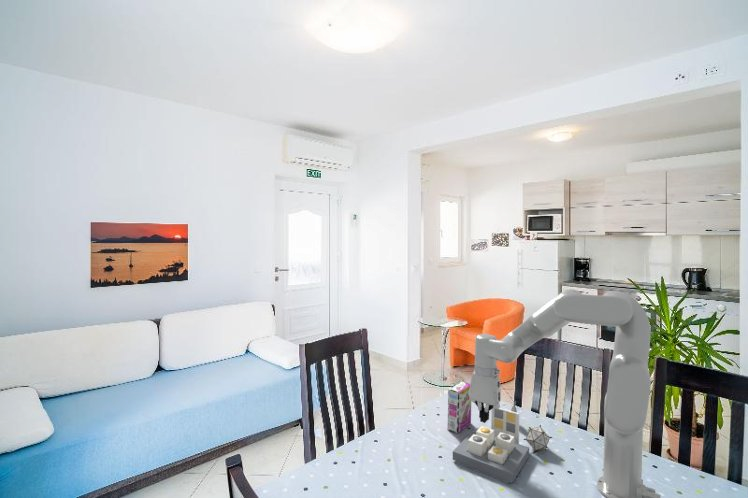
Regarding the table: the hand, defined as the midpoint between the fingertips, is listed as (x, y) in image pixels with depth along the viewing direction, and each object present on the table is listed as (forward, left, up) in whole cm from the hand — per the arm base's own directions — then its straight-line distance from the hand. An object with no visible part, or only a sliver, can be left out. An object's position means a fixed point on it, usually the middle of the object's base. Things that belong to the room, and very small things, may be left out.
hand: (484, 420), depth 135 cm
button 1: (0, 0, -9) cm, 9 cm away
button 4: (-7, +7, -10) cm, 14 cm away
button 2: (0, +7, -9) cm, 11 cm away
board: (-4, +3, -11) cm, 12 cm away
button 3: (-7, 0, -9) cm, 11 cm away
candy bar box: (+14, -11, -11) cm, 21 cm away
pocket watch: (-1, -24, -11) cm, 26 cm away
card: (-4, -11, -11) cm, 16 cm away
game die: (-15, -13, -11) cm, 23 cm away
